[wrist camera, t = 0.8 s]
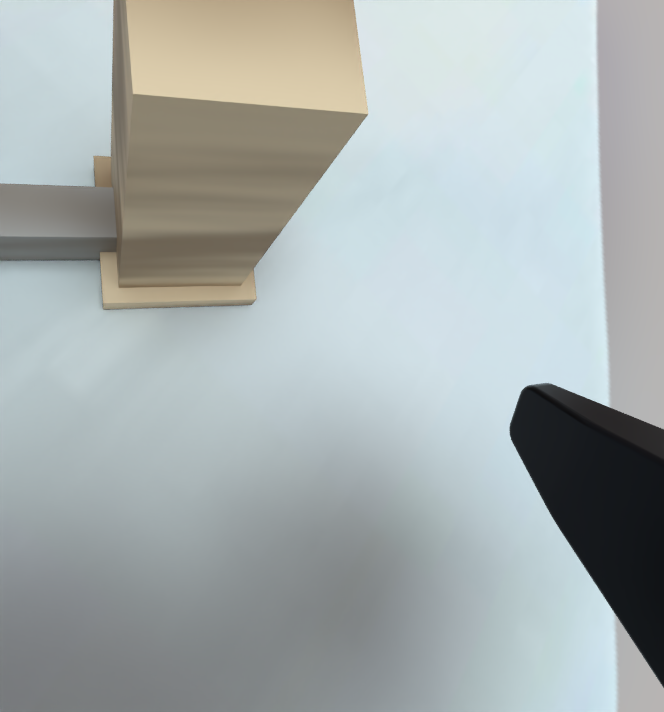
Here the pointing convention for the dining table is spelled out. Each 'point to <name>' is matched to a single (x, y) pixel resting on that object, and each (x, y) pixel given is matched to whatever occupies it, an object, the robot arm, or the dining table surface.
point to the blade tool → (200, 148)
